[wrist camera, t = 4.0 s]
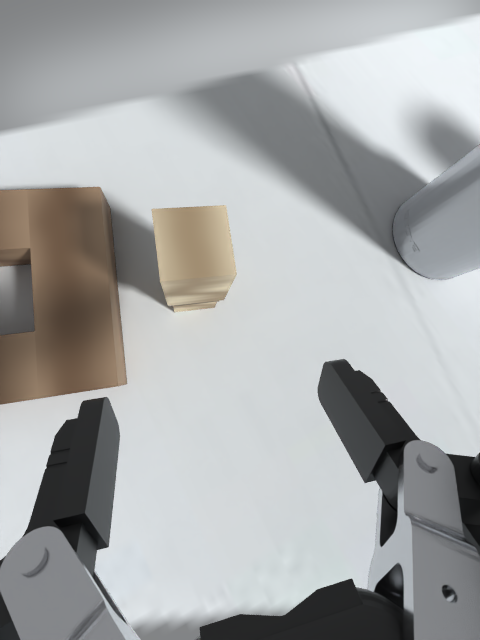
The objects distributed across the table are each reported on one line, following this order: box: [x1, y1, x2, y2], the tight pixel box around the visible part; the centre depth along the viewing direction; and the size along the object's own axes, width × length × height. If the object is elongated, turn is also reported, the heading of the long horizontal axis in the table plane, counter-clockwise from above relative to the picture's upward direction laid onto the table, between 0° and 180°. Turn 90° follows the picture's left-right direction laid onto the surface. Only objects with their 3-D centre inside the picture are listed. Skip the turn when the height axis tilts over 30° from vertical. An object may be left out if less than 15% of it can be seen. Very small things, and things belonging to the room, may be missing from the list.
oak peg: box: [152, 205, 237, 312], centre depth 21 cm, size 4×4×10 cm
